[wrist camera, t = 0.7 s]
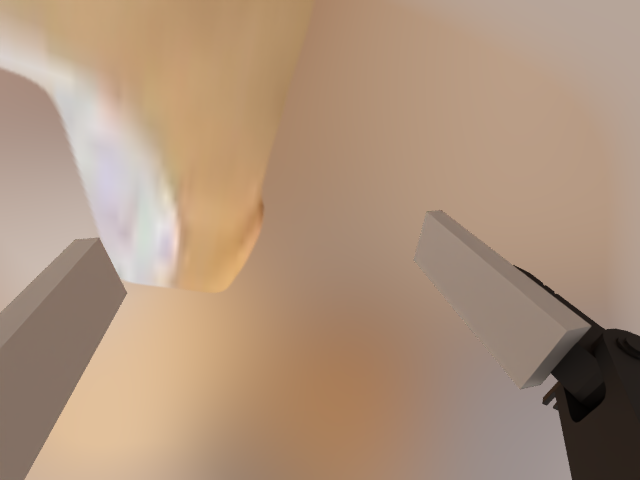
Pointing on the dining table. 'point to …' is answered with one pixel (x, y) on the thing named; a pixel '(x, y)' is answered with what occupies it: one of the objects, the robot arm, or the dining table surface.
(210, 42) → the dining table surface
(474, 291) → the robot arm
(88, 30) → the dining table surface
